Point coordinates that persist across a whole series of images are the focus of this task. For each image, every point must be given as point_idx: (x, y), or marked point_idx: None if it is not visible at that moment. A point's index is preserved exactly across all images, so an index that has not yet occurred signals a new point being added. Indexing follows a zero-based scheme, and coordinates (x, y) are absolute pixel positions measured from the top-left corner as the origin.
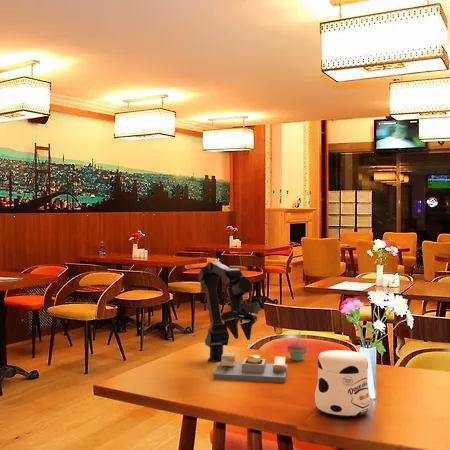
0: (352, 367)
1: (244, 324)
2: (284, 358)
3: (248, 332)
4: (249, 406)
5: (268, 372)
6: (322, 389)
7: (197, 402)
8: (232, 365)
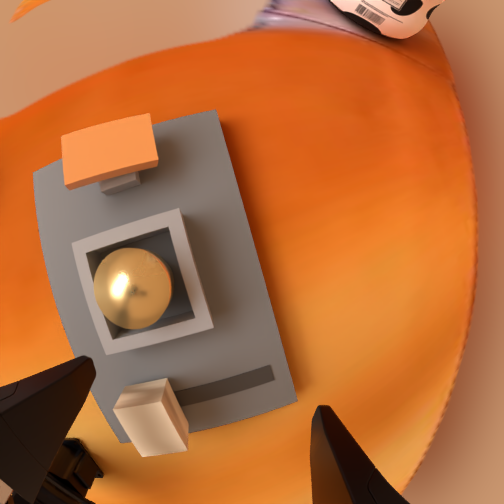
0: None
1: (14, 475)
2: (77, 134)
3: (52, 399)
4: (444, 176)
5: (170, 195)
6: (430, 14)
7: (461, 304)
8: (169, 385)
